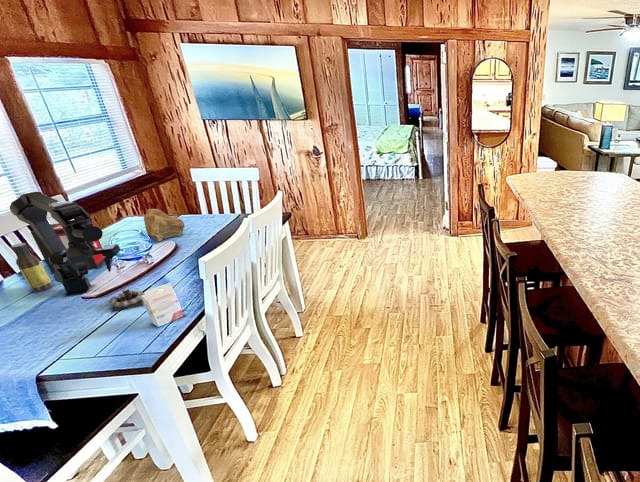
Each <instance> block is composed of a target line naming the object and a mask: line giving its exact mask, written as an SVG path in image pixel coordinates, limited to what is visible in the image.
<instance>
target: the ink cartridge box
mask: <svg viewBox="0 0 640 482" xmlns="http://www.w3.org/2000/svg"><path fill="white" fill-rule="evenodd" d="M143 293H144V294H145V295H143V296H141V297H142V300H143V302H144V303H143V305H144V307H145V309H146V312H147V314H148V316H149V318H150V321H151V323H152V324H153V325H154V326H156V327H157V328H160V327H162V326H165V325H167V324H169V323H171V322H174V321H176V320H179V319H180V318H183V317H185V316H184V315H185V314H184V312H183V309H182V307H181V304H180V301H179V299H178V297H177V293H176V291H175V289H174V288H173V285H172V283H171V282H167V283H165V284H161V285H159V286H156V287H154V288H152V289H148V290H145V291H144V292H143Z"/></svg>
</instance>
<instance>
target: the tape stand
mask: <svg viewBox="0 0 640 482" xmlns="http://www.w3.org/2000/svg"><path fill="white" fill-rule="evenodd" d="M130 291H131V290H130V288H128V287H125V288H123V289H122V290H121V292H122V293H123V294H124V296H125V298H122V299H120V300H118V301H117V302H124V301H128V300H131V299H133V298H135V297H137V296H134V295H133V296H132V295H131V293H130ZM143 305H144V302H143V300H140V301H139V302H137V303H135V304H132V305H130V306H125V307H112V308H111V310H112V312H116V311H120V310H126V309H132V308H137V307H142V306H143Z"/></svg>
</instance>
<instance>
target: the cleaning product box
mask: <svg viewBox="0 0 640 482" xmlns="http://www.w3.org/2000/svg"><path fill="white" fill-rule="evenodd" d="M87 222H88V223H92V220H91V221H87ZM49 224H50V226H51V227H52V229H53V230H54V231H55V233H56V234H57V236H58V237H59V239H60V240H61V241H62V243H63V244H64V246H65V247H66V249H67V250H69V246H68V242H69V241H68V239H67V237H66V235H65V232H64V230H63V228H62V225H59V223H49ZM30 234H31V237H32V238H33V240H34V242H35V244H36V245H37V248H38V250H39V252H40V253H41V255H42V257H43V260H44V262H45V263H46V266H47V267H48V269H49V272H50V273H51V274H54V272H55V269H54V267H53V264H50V262H49V257H50V256H51V254H50V252H49V251H48V249H47V248H46V247H45V245H44V244H43V242H42V241H41V240H40V238H39V237H38V235H37V234H36V233H35V231H34V230H32V231H30ZM92 244H93V245H95V247H96V248H95V250H96V249H102V248H103V246H102V244H101V242H100V239H99V240H98V241H95V242H92ZM103 257H104V256H102V254H97V255H94V256H92V257H89V258H88V260H87V261H86V262H84V263H86V265H87V268H88V271H90V270H98V269H99V268H100V267H102V266H103V265H104V264H106V263H105V260H104V259H103Z"/></svg>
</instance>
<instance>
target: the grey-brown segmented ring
mask: <svg viewBox="0 0 640 482" xmlns="http://www.w3.org/2000/svg"><path fill="white" fill-rule="evenodd" d="M130 293H131V295H132V296H133V295H134V296H137V297H135V298H133V299H131V300H128V301H124V302H117V301H118V300H120V299H122V298H125V296H124V294H123V292H121V293H118V294H117V295H115V296H113V297H111V298H110V300H109V302H108V304H109V306H110V307H112V308H113V307H125V306H130V305H132V304H135V303H137V302H139V301H140V300H142V297H141V296H143V295H145V294H144V292H143V291H141V290H130Z"/></svg>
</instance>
